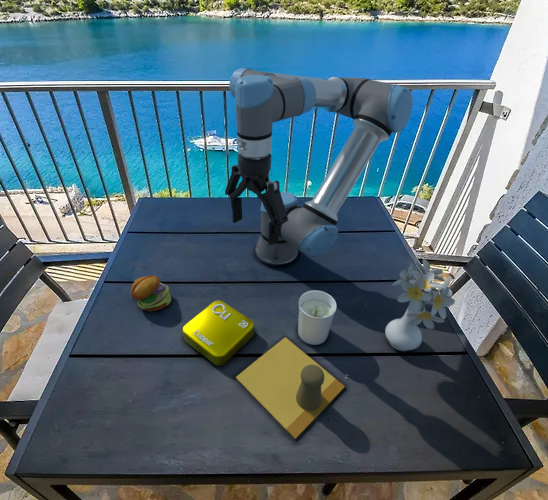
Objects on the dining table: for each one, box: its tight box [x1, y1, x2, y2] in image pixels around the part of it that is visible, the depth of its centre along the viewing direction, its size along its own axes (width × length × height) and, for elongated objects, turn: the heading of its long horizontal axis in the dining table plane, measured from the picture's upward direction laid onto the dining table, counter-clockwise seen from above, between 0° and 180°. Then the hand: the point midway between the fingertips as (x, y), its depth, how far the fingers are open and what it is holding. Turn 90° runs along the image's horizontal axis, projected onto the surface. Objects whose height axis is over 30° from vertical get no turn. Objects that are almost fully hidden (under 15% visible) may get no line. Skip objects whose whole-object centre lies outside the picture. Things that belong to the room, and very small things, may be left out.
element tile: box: [181, 299, 255, 367], centre depth 96 cm, size 15×15×5 cm
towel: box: [235, 337, 346, 440], centre depth 86 cm, size 18×20×1 cm
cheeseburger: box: [130, 274, 172, 313], centre depth 105 cm, size 10×11×10 cm
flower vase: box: [384, 259, 456, 352], centre depth 87 cm, size 13×18×25 cm
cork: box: [296, 365, 324, 411], centre depth 79 cm, size 6×6×11 cm
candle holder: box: [297, 289, 338, 346], centre depth 94 cm, size 10×10×12 cm
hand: (254, 231), depth 91 cm, fingers open, 13 cm apart
